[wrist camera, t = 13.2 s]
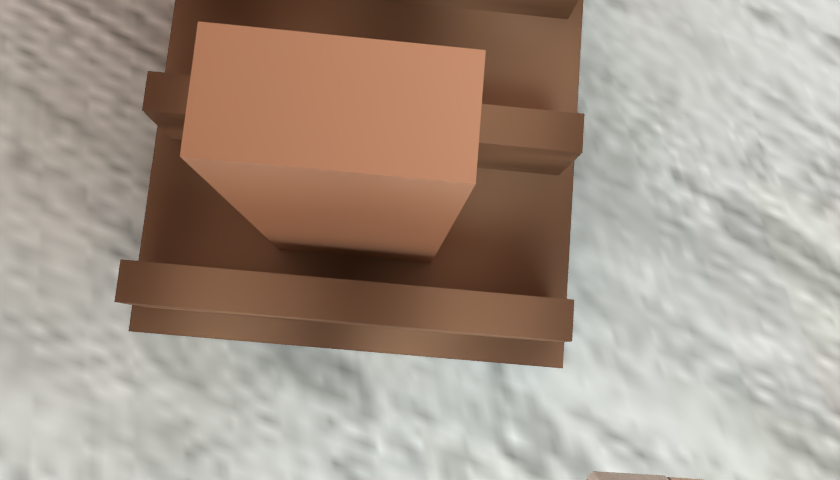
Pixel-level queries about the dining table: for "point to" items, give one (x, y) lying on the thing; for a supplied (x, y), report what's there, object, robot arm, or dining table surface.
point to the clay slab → (336, 137)
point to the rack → (374, 277)
